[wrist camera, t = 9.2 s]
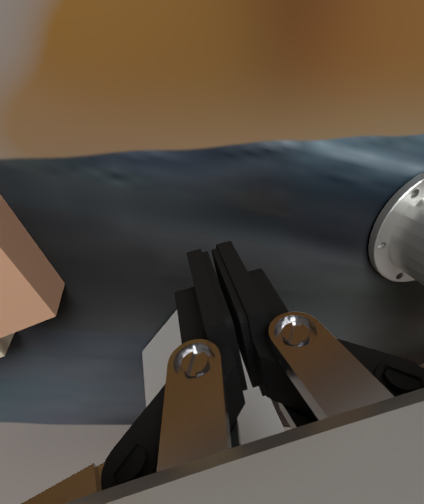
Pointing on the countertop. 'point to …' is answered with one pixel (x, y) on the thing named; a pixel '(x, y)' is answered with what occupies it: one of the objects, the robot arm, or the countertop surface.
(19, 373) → the countertop surface
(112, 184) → the countertop surface
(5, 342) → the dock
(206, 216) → the countertop surface
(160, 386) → the milk carton
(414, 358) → the countertop surface
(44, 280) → the t block
